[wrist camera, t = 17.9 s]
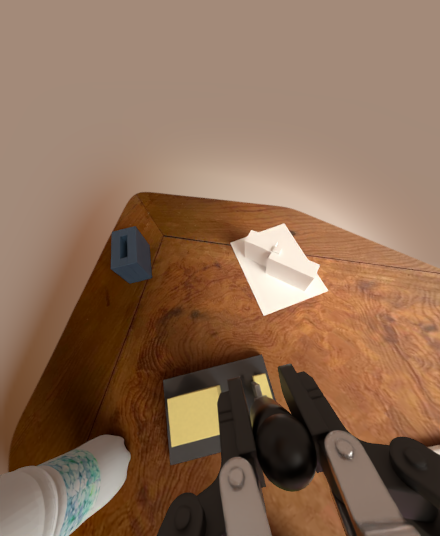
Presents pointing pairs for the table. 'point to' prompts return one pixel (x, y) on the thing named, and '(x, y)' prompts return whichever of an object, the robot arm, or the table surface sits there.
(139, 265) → the knife stand
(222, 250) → the table surface
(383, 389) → the table surface
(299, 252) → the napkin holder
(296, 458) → the knife
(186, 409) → the butter block
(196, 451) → the board
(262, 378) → the butter pat
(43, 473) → the bottle
